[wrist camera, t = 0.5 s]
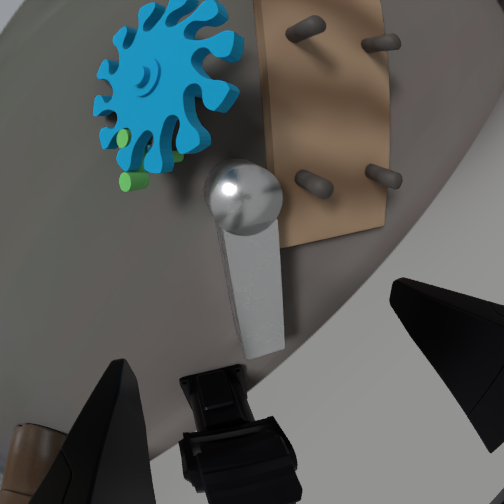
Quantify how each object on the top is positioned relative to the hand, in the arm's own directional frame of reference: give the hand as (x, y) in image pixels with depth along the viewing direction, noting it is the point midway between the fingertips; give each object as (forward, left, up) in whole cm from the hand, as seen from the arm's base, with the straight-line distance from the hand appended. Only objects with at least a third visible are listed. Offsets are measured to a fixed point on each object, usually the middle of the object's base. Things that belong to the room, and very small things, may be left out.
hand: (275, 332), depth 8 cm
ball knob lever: (-5, -2, -13) cm, 14 cm away
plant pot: (-29, +30, -13) cm, 44 cm away
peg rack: (+6, -10, -13) cm, 17 cm away
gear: (+8, +2, -13) cm, 16 cm away
